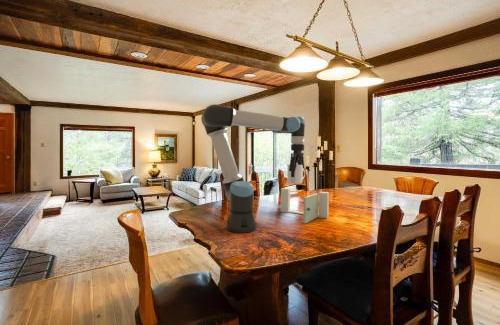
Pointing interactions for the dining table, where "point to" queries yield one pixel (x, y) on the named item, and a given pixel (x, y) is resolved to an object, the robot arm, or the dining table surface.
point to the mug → (298, 174)
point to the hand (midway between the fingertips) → (296, 181)
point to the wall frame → (286, 208)
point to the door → (310, 207)
